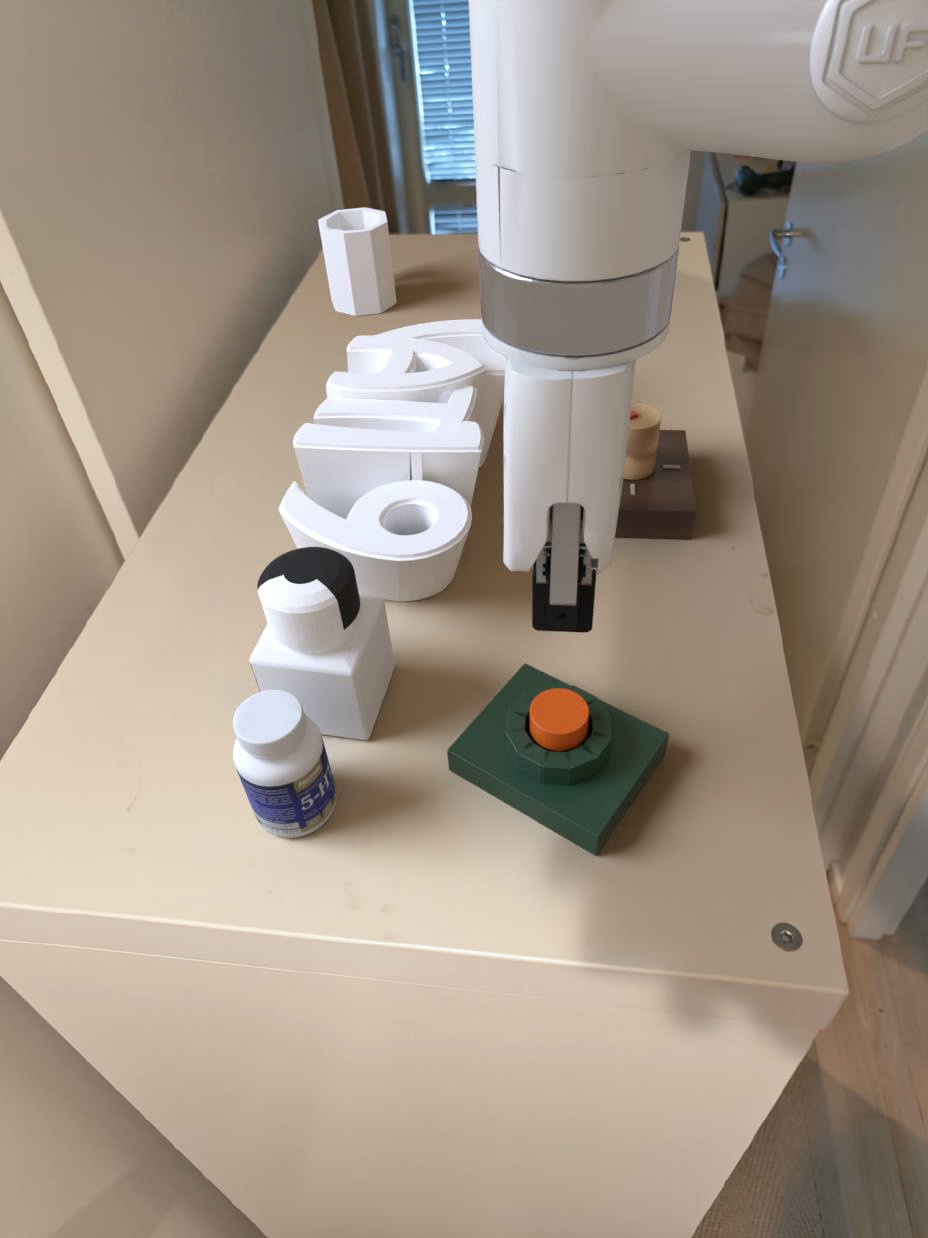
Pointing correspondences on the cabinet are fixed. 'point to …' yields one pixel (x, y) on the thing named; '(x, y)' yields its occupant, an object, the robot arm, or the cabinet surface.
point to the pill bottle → (283, 764)
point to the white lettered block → (399, 456)
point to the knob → (642, 441)
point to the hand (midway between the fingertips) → (562, 620)
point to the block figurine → (324, 641)
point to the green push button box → (559, 761)
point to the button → (559, 719)
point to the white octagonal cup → (358, 260)
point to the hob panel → (660, 495)
